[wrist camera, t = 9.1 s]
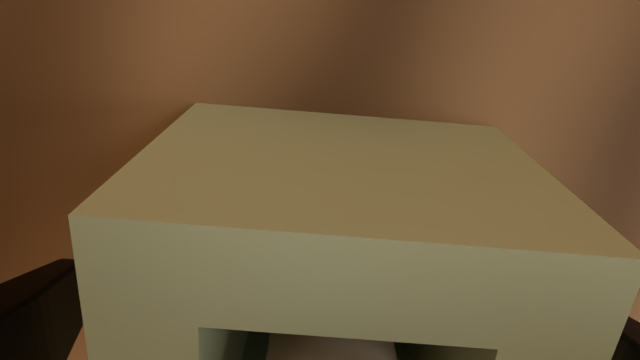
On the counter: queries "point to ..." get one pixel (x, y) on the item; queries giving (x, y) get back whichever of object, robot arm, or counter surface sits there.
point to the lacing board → (308, 96)
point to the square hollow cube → (344, 243)
